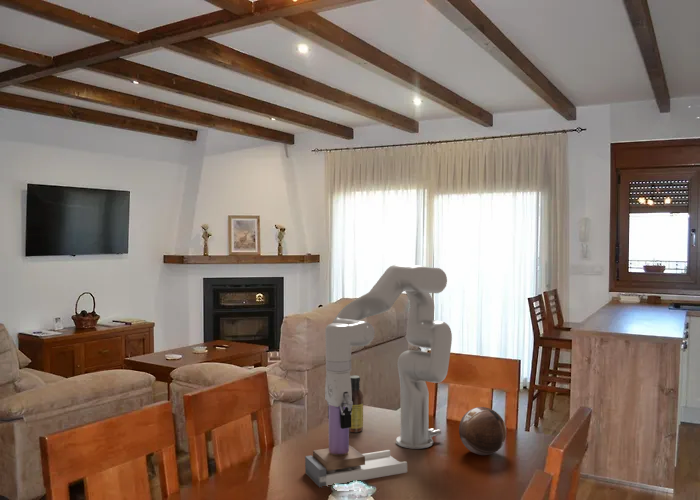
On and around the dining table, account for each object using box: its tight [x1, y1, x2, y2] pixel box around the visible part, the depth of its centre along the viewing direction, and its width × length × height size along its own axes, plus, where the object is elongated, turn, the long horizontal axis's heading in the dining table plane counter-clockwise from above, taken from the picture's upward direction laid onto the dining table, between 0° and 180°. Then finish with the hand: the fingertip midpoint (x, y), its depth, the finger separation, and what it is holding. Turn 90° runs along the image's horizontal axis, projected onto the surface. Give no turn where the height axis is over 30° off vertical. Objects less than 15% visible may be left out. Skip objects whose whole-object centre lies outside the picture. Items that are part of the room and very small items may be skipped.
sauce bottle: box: [349, 375, 364, 433], centre depth 228 cm, size 7×6×20 cm
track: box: [304, 449, 408, 488], centre depth 187 cm, size 28×12×5 cm, turn 114°
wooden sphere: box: [458, 406, 507, 456], centre depth 203 cm, size 15×15×15 cm
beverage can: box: [328, 403, 350, 456], centre depth 185 cm, size 6×6×15 cm
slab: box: [312, 444, 365, 474], centre depth 185 cm, size 12×11×5 cm
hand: (339, 423), depth 185 cm, fingers open, 9 cm apart
